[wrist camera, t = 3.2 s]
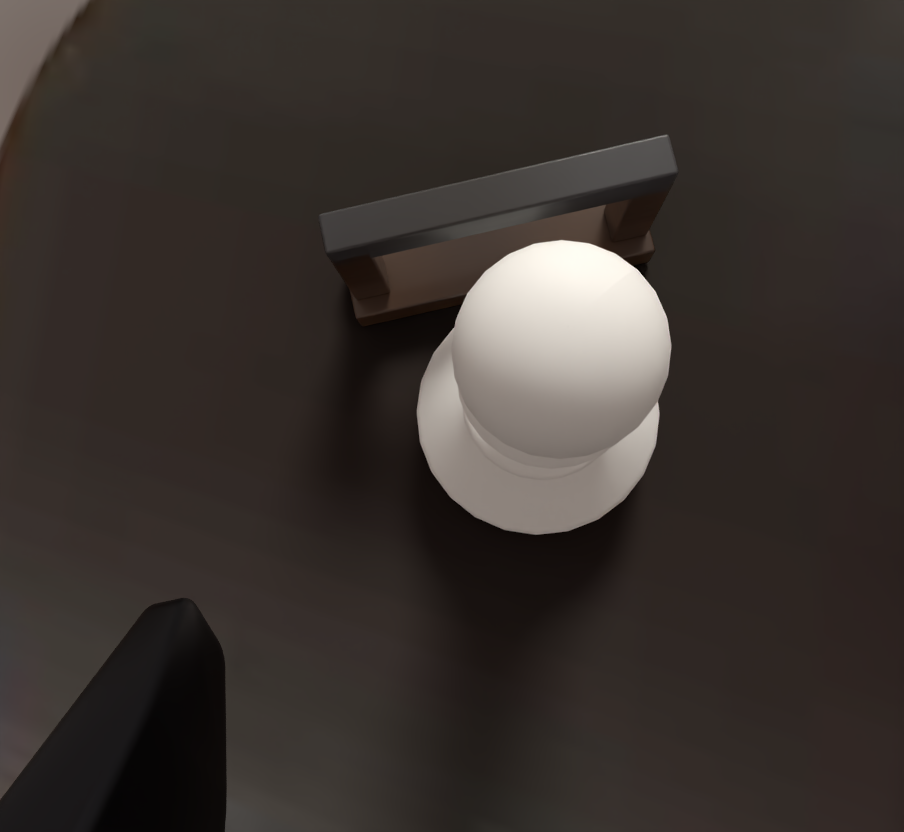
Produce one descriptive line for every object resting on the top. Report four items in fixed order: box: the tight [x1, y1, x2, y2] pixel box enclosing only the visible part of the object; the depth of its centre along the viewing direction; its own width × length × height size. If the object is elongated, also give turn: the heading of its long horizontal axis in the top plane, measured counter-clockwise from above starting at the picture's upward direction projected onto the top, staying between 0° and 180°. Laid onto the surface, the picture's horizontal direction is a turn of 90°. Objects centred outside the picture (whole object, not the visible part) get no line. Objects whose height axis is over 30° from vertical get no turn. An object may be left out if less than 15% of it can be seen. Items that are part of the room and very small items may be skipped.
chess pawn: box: [417, 240, 671, 535], centre depth 14 cm, size 5×5×9 cm
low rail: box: [318, 135, 678, 326], centre depth 17 cm, size 7×2×4 cm, turn 102°
